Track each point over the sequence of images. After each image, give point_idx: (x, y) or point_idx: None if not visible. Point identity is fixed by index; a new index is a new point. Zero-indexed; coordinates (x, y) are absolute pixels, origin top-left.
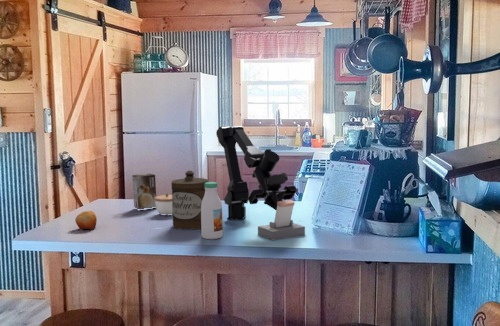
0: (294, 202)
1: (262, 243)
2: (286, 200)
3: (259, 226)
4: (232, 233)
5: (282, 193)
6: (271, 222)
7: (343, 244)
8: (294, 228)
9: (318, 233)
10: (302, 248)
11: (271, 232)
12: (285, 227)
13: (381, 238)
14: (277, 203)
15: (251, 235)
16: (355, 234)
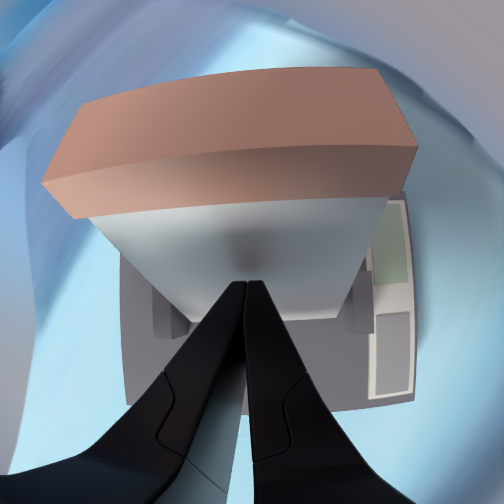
0: (81, 107)
1: (455, 186)
2: (150, 157)
3: (412, 386)
4: (475, 456)
5: (15, 495)
6: (366, 311)
7: (139, 31)
8: None
9: None
10: (313, 33)
11: (405, 207)
12: None
13: (19, 73)
14: (402, 171)
15: (434, 382)
16: (14, 134)
